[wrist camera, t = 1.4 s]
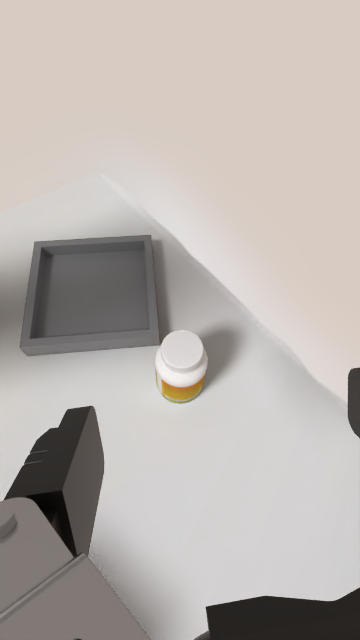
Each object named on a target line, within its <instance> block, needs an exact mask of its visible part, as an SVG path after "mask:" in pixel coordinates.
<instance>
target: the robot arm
mask: <svg viewBox="0 0 360 640" xmlns="http://www.w3.org/2000/svg"><path fill="white" fill-rule="evenodd" d="M348 419H349V423H350V426H351V428H352V430H353V431H354V433H355V434H356V435H357V436H358V437H359V438H360V368H354V369H351V370H350V372H349V375H348ZM103 474H104V454H103V448H102V443H101V437H100V432H99V427H98V422H97V417H96V412H95V409H94V407H93V406H87V407H80V408H73V409H68V410H67V411H66V413H65V415H64V417H63V419H62V421H61V423H60V425H59V427H58V428H51V429H49V430H48V431H47V432H46V433H44V434H43V435H42V436H41V437H40V438H39V439H38V440H37V441H36V443H35V444H34V446H33V448H32V450H31V452H30V455H28V457H27V459H26V461H25V462H24V466H22V468H21V470H20V471H19V473H18V475H17V477H16V479H15V480H14V482H13V484H12V486H11V488H10V489H9V491H8V493H7V495H6V497H5V498H4V500H3V501H1V502H0V640H150V638H149V637H148V636H147V634H146V633H145V632H144V630H143V629H142V628H141V626H140V625H139V624H138V622H137V621H136V620H135V618H134V617H133V616H132V614H131V613H130V612H129V610H128V609H127V608H126V606H125V605H124V604H123V602H122V601H121V600H120V598H119V597H118V596H117V594H116V593H115V592H114V591H113V589H112V588H111V587H110V585H109V584H108V583H107V581H106V580H105V579H104V577H103V576H102V575H101V573H100V572H99V571H98V569H97V568H96V567H95V565H94V564H93V563H92V561H91V560H90V559H89V558H88V552H89V547H90V542H91V537H92V532H93V526H94V521H95V516H96V511H97V505H98V500H99V495H100V490H101V485H102V479H103ZM206 612H207V621H208V629H209V631H207V632H205V633H204V634H202V635H200V636H198V637H197V638H195V639H194V640H360V588H358V589H356V590H355V591H353V592H351V593H349V594H347V595H346V596H344V597H342V598H340V599H338V600H336V601H318V600H307V599H296V598H284V597H273V596H261V597H256V598H250V599H245V600H240V601H234V602H229V603H223V604H218V605H212V606H207V607H206Z"/></svg>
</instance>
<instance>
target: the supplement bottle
mask: <svg viewBox="0 0 360 640" xmlns="http://www.w3.org/2000/svg"><path fill="white" fill-rule="evenodd" d="M207 366H208V356H207V353H206V350H205V349H204V347H203V344H202V341H201V339H200V338H199V337H198V336H197V335H196V334H195V333H193V332H191V331H188V330H176V331H173V332H171V333H169V334H168V335H167V336H166V337H165V338H164V340H163V342H162V344H161V345H160V346H159V348H158V350H157V352H156V355H155V371H156V381H157V387H158V390H159V392H160V394H161V395H162V396H163V397H164V398H165V399H166V400H168V401H170V402H172V403H175V404H185V403H188V402H191V401H192V400H194V399H195V398H196V397H197V396H198V395H199V393H200V391H201V389H202V386H203V382H204V378H205V374H206V371H207Z"/></svg>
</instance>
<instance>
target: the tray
mask: <svg viewBox="0 0 360 640" xmlns="http://www.w3.org/2000/svg"><path fill="white" fill-rule="evenodd" d="M155 345H160V342H159V328H158V316H157V303H156V291H155V279H154V266H153V254H152V242H151V235H140V236H123V237H106V238H89V239H72V240H54V241H37V242H34V249H33V256H32V263H31V270H30V277H29V284H28V291H27V298H26V305H25V312H24V319H23V327H22V334H21V341H20V348H21V349H22V351H23V352H24V353H25V354H26V355H27V356H34V355H46V354H58V353H70V352H82V351H95V350H107V349H119V348H131V347H143V346H155Z"/></svg>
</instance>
